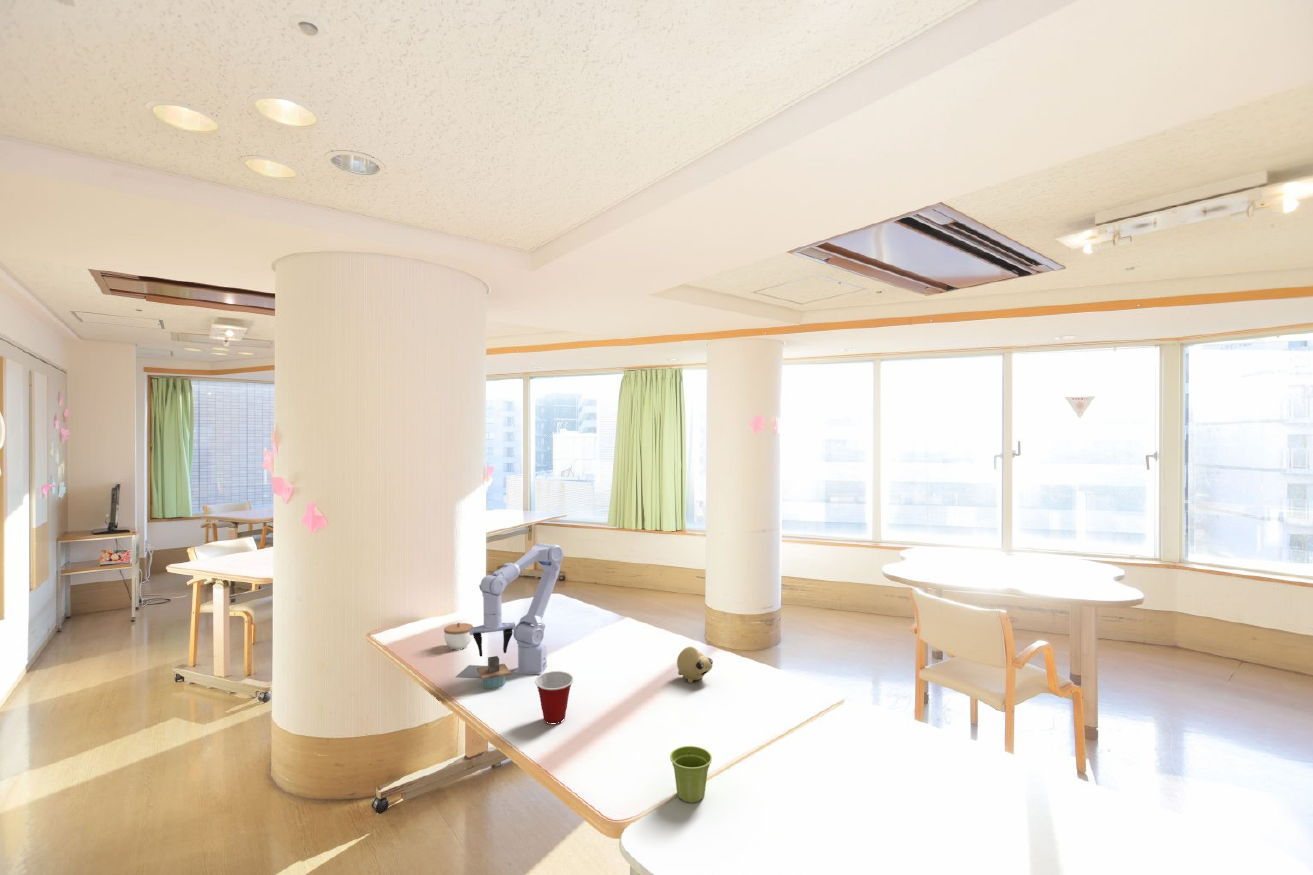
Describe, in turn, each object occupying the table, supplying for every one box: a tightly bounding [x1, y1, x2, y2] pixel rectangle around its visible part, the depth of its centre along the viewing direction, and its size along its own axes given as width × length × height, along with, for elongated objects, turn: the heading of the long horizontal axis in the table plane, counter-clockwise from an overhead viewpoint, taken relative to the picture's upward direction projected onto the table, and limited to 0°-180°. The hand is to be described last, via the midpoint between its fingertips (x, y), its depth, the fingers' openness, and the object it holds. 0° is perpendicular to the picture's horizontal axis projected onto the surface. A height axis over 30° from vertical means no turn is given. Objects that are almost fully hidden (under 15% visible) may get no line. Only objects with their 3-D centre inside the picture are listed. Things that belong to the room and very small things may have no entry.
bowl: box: [481, 675, 506, 690], centre depth 197 cm, size 7×7×4 cm
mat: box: [455, 664, 488, 679], centre depth 208 cm, size 11×11×1 cm
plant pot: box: [669, 745, 713, 803], centre depth 135 cm, size 9×9×9 cm
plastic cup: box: [534, 670, 574, 723], centre depth 171 cm, size 11×11×12 cm
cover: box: [477, 655, 511, 681], centre depth 197 cm, size 9×9×5 cm
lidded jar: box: [443, 622, 474, 650], centre depth 234 cm, size 11×11×9 cm
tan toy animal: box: [676, 646, 714, 683], centre depth 200 cm, size 10×12×11 cm
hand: (492, 653), depth 198 cm, fingers open, 7 cm apart
